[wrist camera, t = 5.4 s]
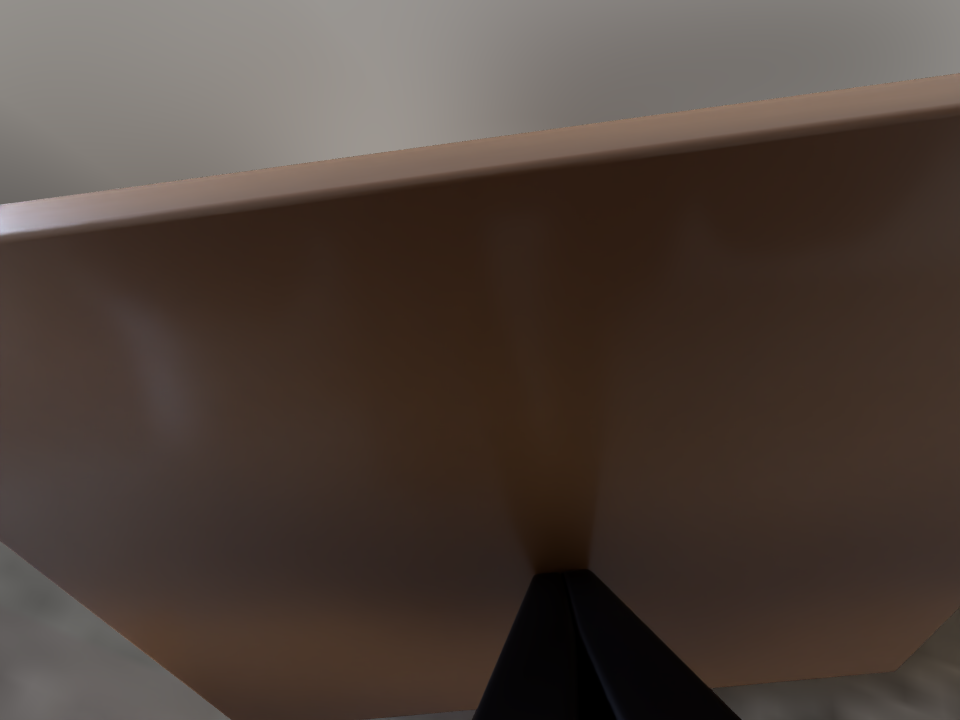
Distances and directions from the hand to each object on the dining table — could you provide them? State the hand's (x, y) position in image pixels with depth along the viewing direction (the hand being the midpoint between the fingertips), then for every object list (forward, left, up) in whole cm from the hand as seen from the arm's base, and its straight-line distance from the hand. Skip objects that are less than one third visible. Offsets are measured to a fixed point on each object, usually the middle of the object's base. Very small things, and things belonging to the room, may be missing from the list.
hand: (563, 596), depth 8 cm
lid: (+1, 0, 0) cm, 1 cm away
